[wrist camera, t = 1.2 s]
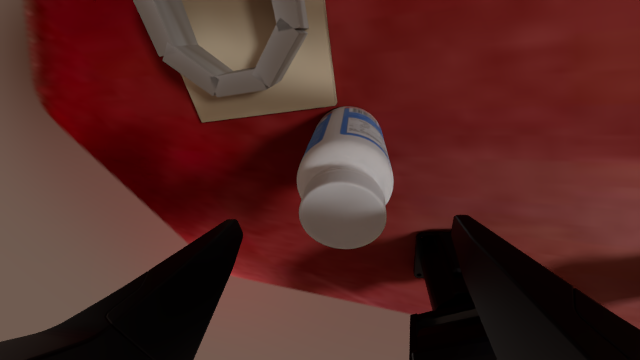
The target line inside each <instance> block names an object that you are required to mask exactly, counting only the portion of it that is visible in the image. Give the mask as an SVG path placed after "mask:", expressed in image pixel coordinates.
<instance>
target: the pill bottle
mask: <svg viewBox="0 0 640 360" xmlns="http://www.w3.org/2000/svg"><path fill="white" fill-rule="evenodd" d="M297 188H298V192H299V194H300V197H301V199H302V200H301V203H300V208H299V218H300V222H301V224H302V226H303V228H304V230H305V231H306V232H307V233H308V234H309V235H310V236H311V237H312V238H313V239H314V240H316V241H317V242H319V243H321V244H323V245H326V246H329V247H332V248H338V249H355V248H359V247H362V246H365V245H367V244H369V243H371V242H373V241H374V240H375V239H376V238H377V237H378V236H379V235H380V234H381V233H382V231H383V230H384V227H385V224H386V207H385V205H386V204H387V202H388V201H389V199H390V196H391V194H392V191H393V173H392V168H391V164H390V161H389V157H388V153H387V149H386V146H385V142H384V139H383V135H382V131H381V128H380V126H379V124H378V122H377V121H376V119H375V118H374V117H373V116H372V115H371V114H370V113H368V112H367V111H365V110H363V109H360V108H357V107H350V106H347V107H340V108H336V109H334V110H332V111H330V112H329V113H327V114H326V115H325V116H324V117H323V118H322V119H321V120H320V122H319V123H318V125H317V127H316V129H315V131H314V133H313V135H312V138H311V140H310V142H309V144H308V147H307V149H306V151H305V154H304V156H303V158H302V160H301V163H300V166H299V169H298V173H297Z"/></svg>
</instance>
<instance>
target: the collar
mask: <svg viewBox="0 0 640 360" xmlns="http://www.w3.org/2000/svg"><path fill="white" fill-rule="evenodd" d="M133 1H134V3H135V6H136V8H137V10H138V12H139V14H140V16H141V19H142V21H143V23H144V25H145V27H146V29H147V32H148V34H149V36H150V38H151V40H152V42H153V44H154V47H155V49H156V51H157V53H158V55H159V57H160V56H164V57H163V61H164V62H165V63H166V64H168V65H169V66H171V67H172V68H174V69H175V70H176V71H178V72H179V73H181V76H182V78H183V80H184V83H185V85H186V87H187V90H188V92H189V94H190V96H191V99H192V101H193V103H194V106H195V108H196V110H197V112H198V115H199V117H200V119H201V122H210V121H218V120H226V119H233V118H241V117H249V116H257V115H265V114H273V113H281V112H289V111H296V110H304V109H312V108H320V107H328V106H336V103H337V98H336V90H335V82H334V73H333V65H332V57H331V48H330V40H329V31H328V23H327V15H326V6H325V0H133Z"/></svg>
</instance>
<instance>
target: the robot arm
mask: <svg viewBox="0 0 640 360" xmlns="http://www.w3.org/2000/svg"><path fill="white" fill-rule="evenodd" d="M421 237H423V238H421ZM242 238H243V232H242V230H241V227H240V225H239V223H238V221H237V220H235V219H228V220H226V221H224V222H223V223H221V224H220V225H218V226H216V227H215V228H213V229H212V230H210V231H209V232H207V233H206V234H204V235H203V236H201V237H200V238H198V239H196V240H195V241H193V242H192V243H190V244H189V245H187V246H186V247H184V248H183V249H181V250H180V251H178V252H177V253H175V254H173V255H172V256H170V257H169V258H167V259H166V260H164V261H163V262H161V263H159V264H158V265H156V266H155V267H153V268H152V269H150V270H149V272H146V273H144V274H143V275H141V276H139V277H138V278H136V279H135V280H133V281H132V282H130V283H128V284H127V285H125V286H124V287H122V288H121V289H119V290H117V291H116V292H114V293H112V294H110V295H109V296H107V297H106V298H104V299H102V300H100V301H99V302H97V303H95V304H94V305H92V306H90V307H88V308H87V309H85V310H84V311H82V312H80V313H78V314H76V315H75V316H73V317H71V318H70V319H68V320H66V321H65V322H63V323H61V324H59V325H57V326H54V327H52V328H50V329H47V330H45V331H42V332H39V333H36V334H32V335H28V336H24V337H20V338H15V339H11V340H6V341H2V342H0V360H194V357H195V355H196V353H197V350H198V348H199V346H200V343H201V341H202V339H203V336H204V334H205V332H206V329H207V327H208V325H209V323H210V320H211V318H212V316H213V313H214V311H215V309H216V306H217V304H218V302H219V299H220V297H221V295H222V292H223V290H224V288H225V285H226V283H227V281H228V279H229V276H230V274H231V271H232V269H233V266H234V263H235V260H236V257H237V254H238V251H239V248H240V245H241V241H242ZM414 276H415V277H417V278H424V279H425V283H426V287H427V291H428V295H429V298H430V302H431V306H432V310H433V311H429V312H425V313H421V314H413V315H410V355H409V360H640V329H638V328H636V327H635V326H633V325H631V324H630V323H628V322H627V321H625V320H623V319H622V318H620V317H619V316H617V315H616V314H614V313H612V312H611V311H609V310H608V309H606V308H605V307H603V306H602V305H600V304H599V303H597V302H596V301H594V300H593V299H591V298H590V297H588V296H587V295H585V294H584V293H582V292H581V291H579V290H578V289H576V288H574V289H573V286H572V285H570V284H569V283H567V282H566V281H564V280H563V279H561V278H560V277H559V276H557V275H556V274H554V273H553V272H551V271H550V270H548V269H547V268H545V267H544V266H542V265H541V264H539V263H538V262H536V261H535V260H533V259H532V258H530V257H529V256H527V255H526V254H525V253H523V252H522V251H520V250H519V249H517V248H516V247H514V246H513V245H511V244H510V243H508V242H507V241H505V240H504V239H502V238H501V237H499V236H498V235H496V234H495V233H494V232H492V231H491V230H489V229H488V228H486V227H485V226H483V225H482V224H480V223H479V222H477V221H476V220H474V219H473V218H471V217H470V216H468V215H456V216H454V219H453V224H452V230H451V232H421V233H418V234H417V236H416V247H415V260H414Z"/></svg>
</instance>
